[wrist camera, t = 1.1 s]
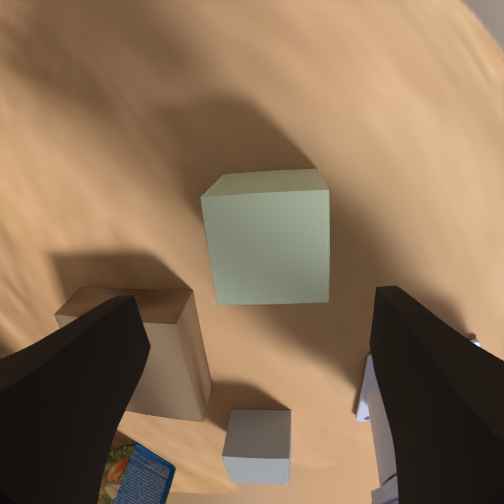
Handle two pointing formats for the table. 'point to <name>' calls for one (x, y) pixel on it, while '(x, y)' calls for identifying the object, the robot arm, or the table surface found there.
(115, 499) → the blue food package
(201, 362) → the walnut block
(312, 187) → the sage cube
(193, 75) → the table surface
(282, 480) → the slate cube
